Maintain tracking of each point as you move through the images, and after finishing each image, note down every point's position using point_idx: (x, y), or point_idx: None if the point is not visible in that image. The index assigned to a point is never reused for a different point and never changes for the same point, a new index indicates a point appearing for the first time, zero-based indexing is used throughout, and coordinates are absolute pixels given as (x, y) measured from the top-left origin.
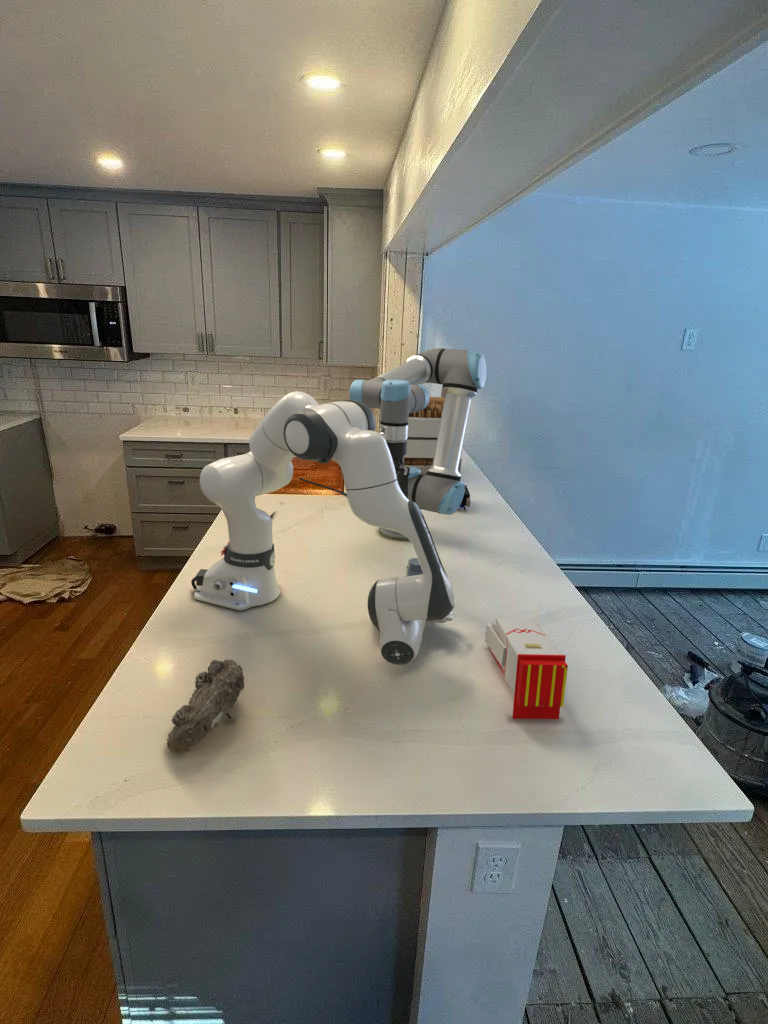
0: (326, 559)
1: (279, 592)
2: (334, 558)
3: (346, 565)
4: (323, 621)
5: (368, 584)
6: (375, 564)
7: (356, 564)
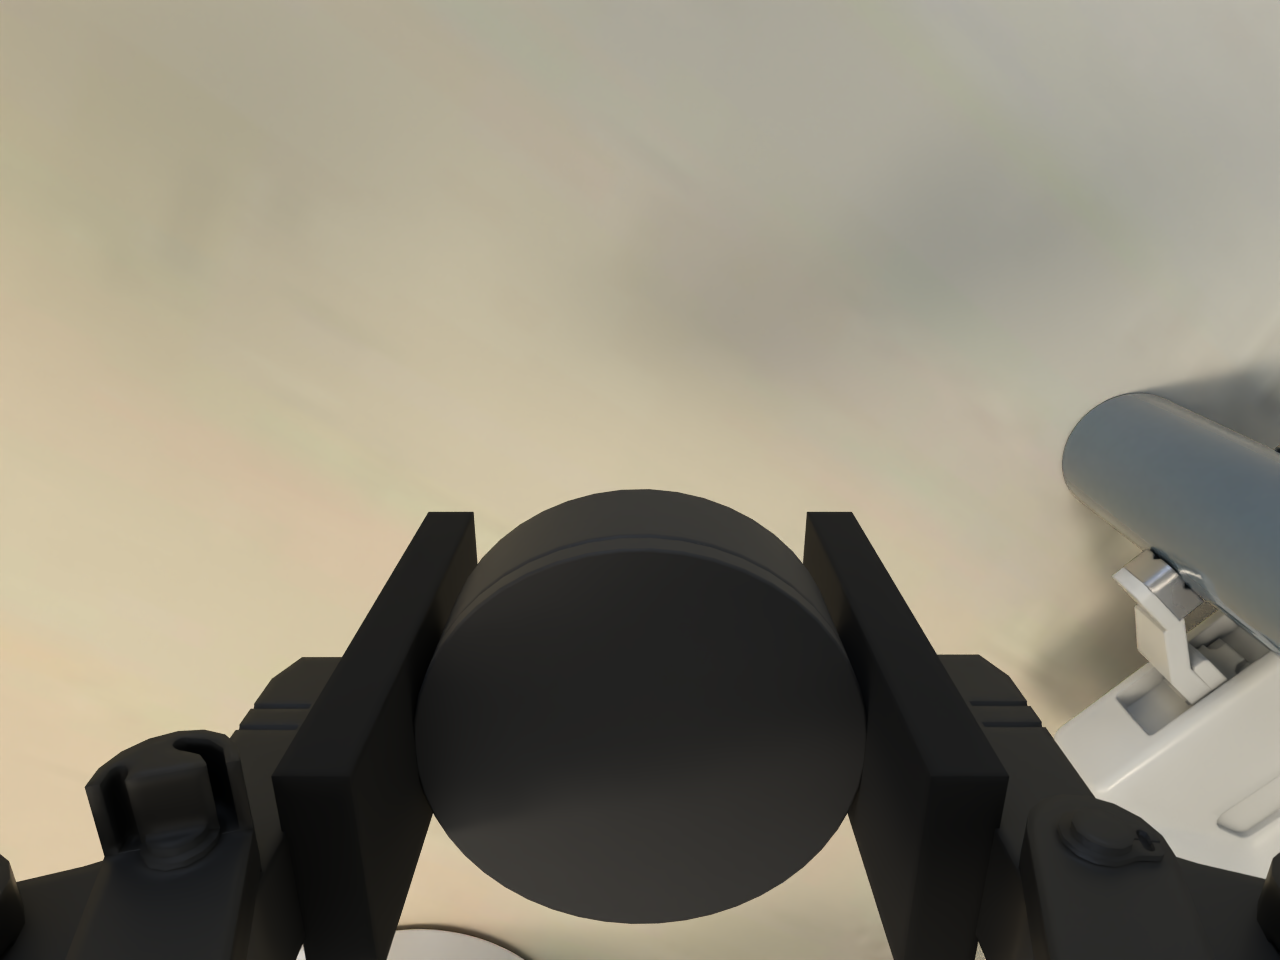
0: (116, 546)
1: (492, 948)
2: (115, 488)
3: (267, 469)
4: (865, 877)
5: (618, 484)
6: (329, 255)
7: (275, 394)
